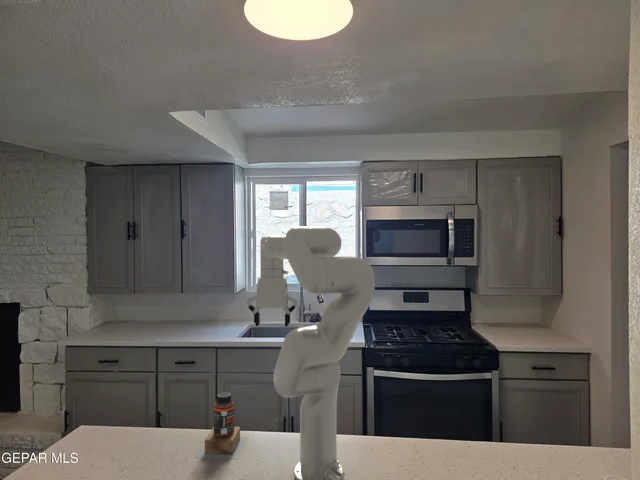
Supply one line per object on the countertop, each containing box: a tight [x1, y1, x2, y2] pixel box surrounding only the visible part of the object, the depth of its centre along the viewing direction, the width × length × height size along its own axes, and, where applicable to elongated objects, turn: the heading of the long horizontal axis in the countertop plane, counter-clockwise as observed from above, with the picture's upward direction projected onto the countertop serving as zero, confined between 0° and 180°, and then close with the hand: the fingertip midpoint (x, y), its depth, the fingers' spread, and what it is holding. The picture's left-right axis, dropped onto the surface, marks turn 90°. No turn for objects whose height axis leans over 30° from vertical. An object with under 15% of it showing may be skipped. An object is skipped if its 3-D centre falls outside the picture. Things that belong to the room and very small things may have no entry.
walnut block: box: [204, 426, 241, 455], centre depth 115 cm, size 8×8×4 cm
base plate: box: [195, 436, 249, 460], centre depth 115 cm, size 12×12×1 cm
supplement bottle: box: [213, 391, 235, 437], centre depth 115 cm, size 6×6×11 cm
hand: (272, 325), depth 130 cm, fingers open, 9 cm apart
